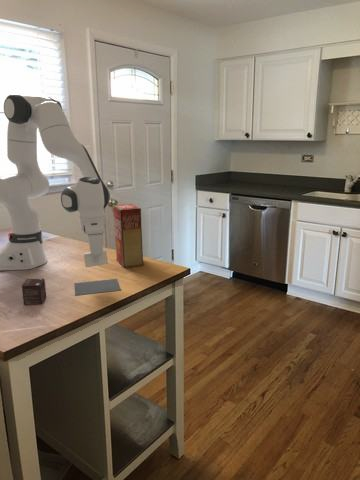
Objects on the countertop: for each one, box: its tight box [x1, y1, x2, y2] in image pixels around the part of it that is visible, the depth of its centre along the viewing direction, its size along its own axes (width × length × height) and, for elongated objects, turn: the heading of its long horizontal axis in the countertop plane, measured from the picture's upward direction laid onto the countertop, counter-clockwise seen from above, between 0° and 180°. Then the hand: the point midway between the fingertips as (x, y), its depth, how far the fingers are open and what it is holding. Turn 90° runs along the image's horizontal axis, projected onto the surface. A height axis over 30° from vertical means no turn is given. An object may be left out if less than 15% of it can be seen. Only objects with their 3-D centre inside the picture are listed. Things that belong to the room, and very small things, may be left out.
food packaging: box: [112, 203, 144, 269], centre depth 168 cm, size 13×9×25 cm
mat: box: [74, 278, 122, 297], centre depth 142 cm, size 16×12×1 cm
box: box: [21, 278, 47, 306], centre depth 129 cm, size 6×6×7 cm
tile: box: [83, 249, 109, 268], centre depth 140 cm, size 8×2×5 cm, turn 106°
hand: (95, 261), depth 141 cm, fingers closed on tile, 2 cm apart
